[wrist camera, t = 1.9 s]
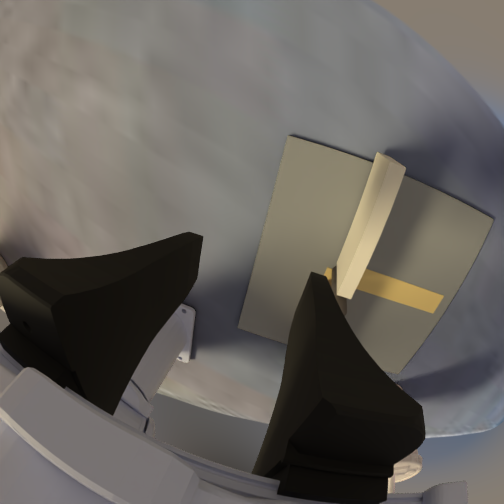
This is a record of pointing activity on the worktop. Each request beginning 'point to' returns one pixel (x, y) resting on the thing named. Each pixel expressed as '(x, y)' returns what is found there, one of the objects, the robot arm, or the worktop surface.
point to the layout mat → (380, 264)
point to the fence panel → (368, 222)
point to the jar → (1, 266)
